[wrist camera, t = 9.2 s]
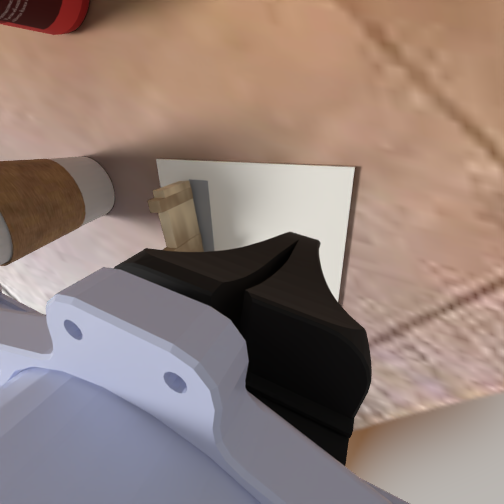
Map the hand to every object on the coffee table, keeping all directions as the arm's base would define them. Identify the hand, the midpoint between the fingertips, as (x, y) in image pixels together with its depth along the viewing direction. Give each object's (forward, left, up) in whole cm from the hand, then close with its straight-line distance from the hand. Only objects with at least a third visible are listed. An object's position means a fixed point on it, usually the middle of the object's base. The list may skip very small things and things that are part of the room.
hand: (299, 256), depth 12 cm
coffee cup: (-1, +24, -10) cm, 26 cm away
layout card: (-8, +7, -10) cm, 15 cm away
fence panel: (-5, +12, -9) cm, 15 cm away
